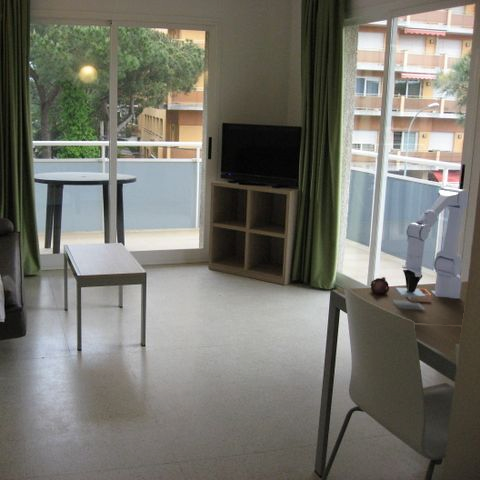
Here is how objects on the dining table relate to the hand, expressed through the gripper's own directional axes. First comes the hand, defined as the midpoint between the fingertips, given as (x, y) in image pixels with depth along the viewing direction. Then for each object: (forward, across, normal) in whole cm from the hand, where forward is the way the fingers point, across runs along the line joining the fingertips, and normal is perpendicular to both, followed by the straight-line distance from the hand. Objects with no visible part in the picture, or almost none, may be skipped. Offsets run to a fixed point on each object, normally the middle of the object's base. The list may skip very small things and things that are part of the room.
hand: (410, 290), depth 257 cm
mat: (+6, 0, 0) cm, 6 cm away
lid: (+1, 0, 0) cm, 1 cm away
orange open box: (+6, -9, +6) cm, 12 cm away
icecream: (+7, -13, -8) cm, 17 cm away
